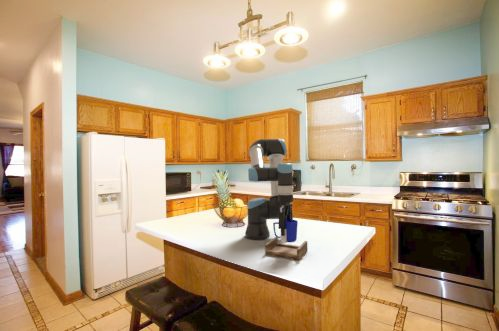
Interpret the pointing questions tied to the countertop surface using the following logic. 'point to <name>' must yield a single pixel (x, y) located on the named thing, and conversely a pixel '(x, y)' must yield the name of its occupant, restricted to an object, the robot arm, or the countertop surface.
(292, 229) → the mug
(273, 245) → the tray
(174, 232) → the countertop surface
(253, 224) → the robot arm
